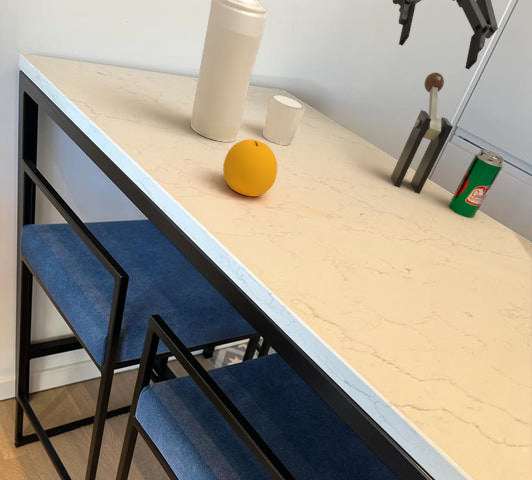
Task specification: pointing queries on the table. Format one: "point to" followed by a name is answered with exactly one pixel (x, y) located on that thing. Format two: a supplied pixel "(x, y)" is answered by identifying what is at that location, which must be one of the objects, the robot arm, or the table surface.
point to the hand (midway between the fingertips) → (437, 52)
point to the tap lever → (433, 104)
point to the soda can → (476, 183)
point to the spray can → (227, 67)
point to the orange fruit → (250, 168)
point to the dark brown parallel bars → (428, 157)
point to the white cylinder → (282, 119)
